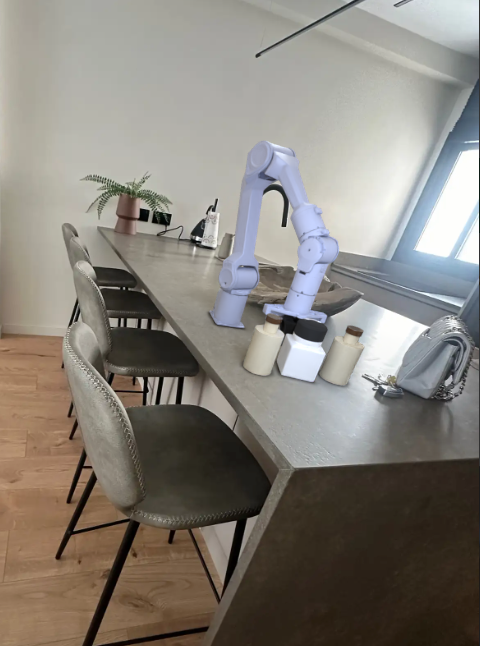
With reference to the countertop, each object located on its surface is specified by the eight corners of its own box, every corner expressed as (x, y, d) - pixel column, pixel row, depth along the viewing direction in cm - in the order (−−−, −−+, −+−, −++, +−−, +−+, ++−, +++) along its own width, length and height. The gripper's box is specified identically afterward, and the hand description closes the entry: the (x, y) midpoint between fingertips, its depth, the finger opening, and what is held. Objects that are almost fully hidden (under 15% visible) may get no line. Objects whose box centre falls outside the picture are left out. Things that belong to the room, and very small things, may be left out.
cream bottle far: (314, 369, 84) (335, 320, 79) (338, 372, 85) (360, 324, 80) (327, 383, 79) (350, 332, 74) (352, 387, 80) (377, 336, 75)
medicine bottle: (314, 383, 78) (336, 332, 73) (280, 375, 79) (300, 324, 73) (307, 367, 84) (326, 319, 79) (275, 360, 85) (293, 312, 80)
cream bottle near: (239, 359, 82) (255, 308, 77) (264, 363, 83) (282, 312, 78) (247, 373, 76) (266, 320, 71) (274, 377, 77) (294, 324, 72)
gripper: (279, 292, 78) (259, 349, 83) (342, 302, 80) (318, 357, 85) (267, 282, 84) (250, 335, 90) (326, 291, 86) (305, 343, 92)
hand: (282, 345), depth 88 cm, fingers closed
